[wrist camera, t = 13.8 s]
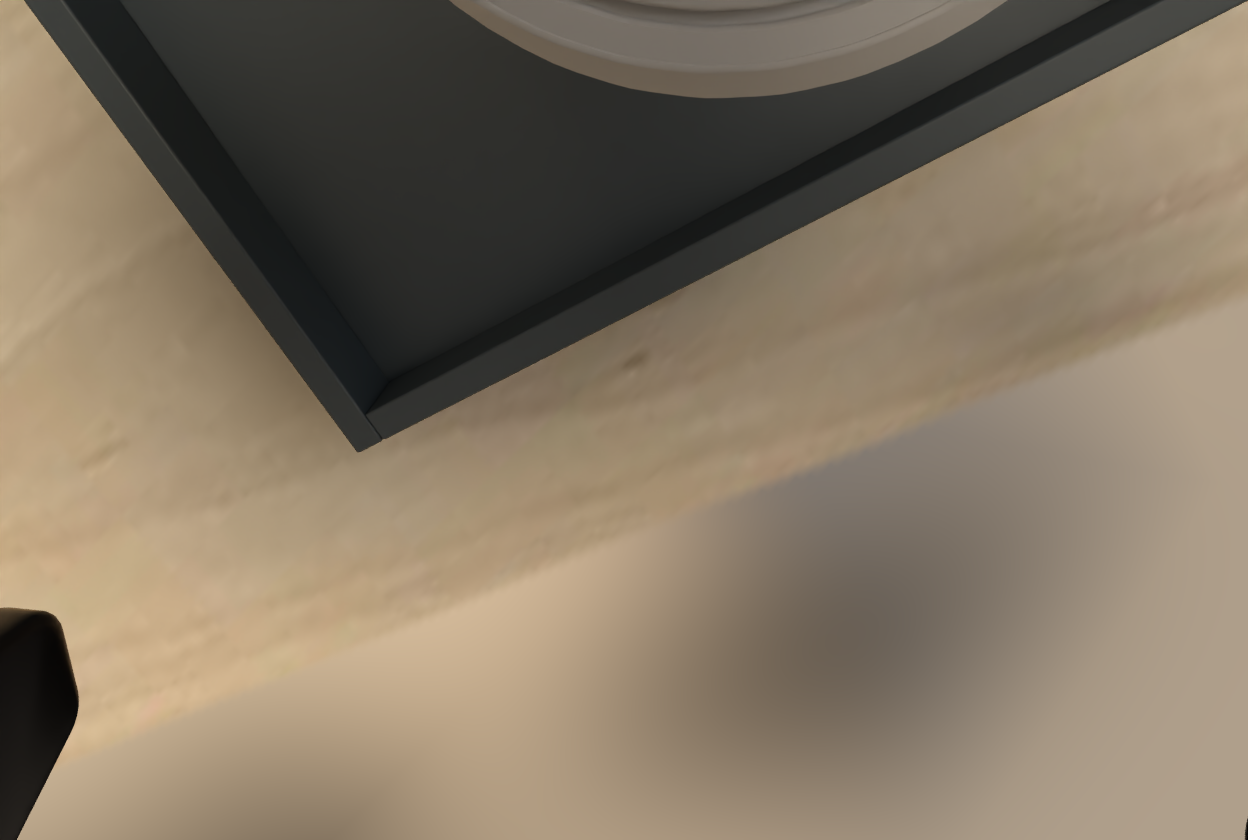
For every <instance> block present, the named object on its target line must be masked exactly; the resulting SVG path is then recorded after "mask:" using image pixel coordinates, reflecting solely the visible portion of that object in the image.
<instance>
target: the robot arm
mask: <svg viewBox="0 0 1248 840" xmlns="http://www.w3.org/2000/svg"><path fill="white" fill-rule="evenodd" d="M78 707H79V696H78V690H77V686H76V682H75V677H74V673H73V669H72V665H71V661H70V657H69V653H68V649H67V645H66V641H65V637H64V633H63V629H62V626H61V623H60V622H59V621H58V619H57V618H56V617H55V616H54V615H53V614H51V613H48V612H46V611H39V610H29V609H19V608H0V840H17V838H18V836H19V834H20V832H21V830H22V828H23V826H24V824H25V822H26V820H27V818H28V816H29V814H30V812H31V810H32V808H33V806H34V804H35V802H36V800H37V798H38V796H39V794H40V792H41V790H42V788H43V787H44V785H45V783H46V781H47V779H48V777H49V775H50V773H51V771H52V769H53V767H54V765H55V763H56V761H57V759H58V757H59V755H60V753H61V751H62V749H63V747H64V745H65V743H66V741H67V739H68V737H69V735H70V733H71V731H72V729H73V726H74V724H75V720H76V717H77V713H78ZM1245 840H1248V819H1247V823H1246V830H1245Z"/></svg>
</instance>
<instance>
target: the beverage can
mask: <svg viewBox="0 0 1248 840" xmlns="http://www.w3.org/2000/svg"><path fill="white" fill-rule="evenodd" d="M449 1H451V2H452V3H453V4H454V5H455V6H457V7H458V8H460V9H461V10H463V11H464V12H465V13H467V14H468V15H470V16H471V17H473V18H474V19H475V20H477V21H478V22H480V23H481V24H483V25H484V26H485V27H487V28H488V29H490V30H492V31H494V32H495V33H497V34H499V35H500V36H502V37H504V38H506V39H507V40H509V41H511V42H513V43H514V44H516V45H518V46H519V47H521V48H523V49H525V50H527V51H529V52H531V53H533V54H535V55H537V56H539V57H541V58H543V59H545V60H547V61H549V62H551V63H554V64H556V65H559V66H561V67H564V68H566V69H569V70H571V71H574V72H577V73H580V74H583V75H586V76H589V77H593V78H596V79H599V80H602V81H605V82H608V83H612V84H615V85H619V86H623V87H627V88H630V89H636V90H642V91H648V92H655V93H663V94H670V95H678V96H686V97H697V98H736V97H756V96H769V95H779V94H787V93H792V92H797V91H803V90H807V89H812V88H816V87H820V86H825V85H829V84H834V83H838V82H842V81H846V80H849V79H852V78H856V77H859V76H862V75H865V74H868V73H871V72H873V71H876V70H878V69H881V68H883V67H886V66H888V65H891V64H894V63H896V62H899V61H901V60H903V59H905V58H907V57H910V56H912V55H914V54H916V53H918V52H920V51H922V50H925V49H927V48H929V47H931V46H933V45H935V44H937V43H939V42H941V41H943V40H945V39H946V38H948V37H950V36H952V35H953V34H955V33H957V32H959V31H960V30H962V29H964V28H966V27H967V26H969V25H971V24H973V23H974V22H976V21H978V20H979V19H981V18H982V17H984V16H985V15H986V14H988V13H989V12H991V11H992V10H994V9H995V8H997V7H998V6H1000V5H1001V4H1003V3H1004V2H1006V1H1007V0H449Z"/></svg>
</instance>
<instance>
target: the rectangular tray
mask: <svg viewBox="0 0 1248 840" xmlns="http://www.w3.org/2000/svg"><path fill="white" fill-rule="evenodd" d="M24 1H25V2H26V4H27V5H28V6H29V8H30V9H31V10H32V12H33V13H34V14H35V16H36V17H37V19H38V20H39V21H40V23H41V24H42V25H43V27H44V28H45V29H46V31H47V32H48V33H49V35H50V36H51V38H52V39H53V40H54V42H55V43H56V44H57V46H58V47H59V48H60V50H61V51H62V52H63V54H64V55H65V57H66V58H67V59H68V61H69V62H70V63H71V65H72V66H73V67H74V69H75V70H76V71H77V73H78V74H79V75H80V77H81V78H82V80H83V81H84V82H85V84H86V85H87V86H88V88H89V89H90V90H91V92H92V93H93V94H94V96H95V97H96V99H97V100H98V101H99V103H100V104H101V105H102V107H103V108H104V109H105V111H106V112H107V113H108V115H109V116H110V118H111V119H112V120H113V122H114V123H115V124H116V126H117V127H118V128H119V130H120V131H121V132H122V134H123V135H124V137H125V138H126V139H127V141H128V142H129V143H130V145H131V146H132V147H133V149H134V150H135V151H136V153H137V154H138V156H139V157H140V158H141V160H142V161H143V162H144V164H145V165H146V166H147V168H148V169H149V170H150V172H151V173H152V175H153V176H154V177H155V179H156V180H157V181H158V183H159V184H160V185H161V187H162V188H163V189H164V191H165V192H166V193H167V195H168V196H169V198H170V199H171V200H172V202H173V203H174V204H175V206H176V207H177V208H178V210H179V211H180V212H181V214H182V215H183V217H184V218H185V219H186V221H187V222H188V223H189V225H190V226H191V227H192V229H193V230H194V231H195V233H196V234H197V236H198V237H199V238H200V240H201V241H202V242H203V244H204V245H205V246H206V248H207V249H208V250H209V252H210V253H211V255H212V256H213V257H214V259H215V260H216V261H217V263H218V264H219V265H220V267H221V268H222V269H223V271H224V272H225V274H226V275H227V276H228V278H229V279H230V280H231V282H232V283H233V284H234V286H235V287H236V288H237V290H238V291H239V293H240V294H241V295H242V297H243V298H244V299H245V301H246V302H247V303H248V305H249V306H250V307H251V309H252V310H253V311H254V313H255V314H256V316H257V317H258V318H259V320H260V321H261V322H262V324H263V325H264V326H265V328H266V329H267V330H268V332H269V333H270V335H271V336H272V337H273V339H274V340H275V341H276V343H277V344H278V345H279V347H280V348H281V349H282V351H283V352H284V354H285V355H286V356H287V358H288V359H289V360H290V362H291V363H292V364H293V366H294V367H295V368H296V370H297V371H298V373H299V374H300V375H301V377H302V378H303V379H304V381H305V382H306V383H307V385H308V386H309V387H310V389H311V390H312V392H313V393H314V394H315V396H316V397H317V398H318V400H319V401H320V402H321V404H322V405H323V406H324V408H325V409H326V411H327V412H328V413H329V415H330V416H331V417H332V419H333V420H334V421H335V423H336V424H337V425H338V427H339V428H340V429H341V431H342V432H343V434H344V435H345V436H346V438H347V439H348V440H349V442H350V443H351V444H352V446H353V447H354V448H355V450H356V451H357V452H361V451H363V450H365V449H367V448H369V447H371V446H373V445H375V444H377V443H379V442H381V441H382V440H383V439H387V438H389V437H391V436H392V435H394V434H396V433H398V432H400V431H402V430H404V429H406V428H408V427H410V426H412V425H414V424H416V423H418V422H420V421H422V420H424V419H426V418H428V417H430V416H432V415H434V414H436V413H438V412H440V411H442V410H444V409H446V408H448V407H450V406H451V405H453V404H455V403H457V402H459V401H461V400H463V399H465V398H467V397H469V396H471V395H473V394H475V393H477V392H479V391H481V390H483V389H485V388H487V387H489V386H491V385H493V384H495V383H497V382H499V381H501V380H503V379H505V378H507V377H509V376H510V375H512V374H514V373H516V372H518V371H520V370H522V369H524V368H526V367H528V366H530V365H532V364H534V363H536V362H538V361H540V360H542V359H544V358H546V357H548V356H550V355H552V354H554V353H556V352H558V351H560V350H562V349H564V348H566V347H568V346H569V345H571V344H573V343H575V342H577V341H579V340H581V339H583V338H585V337H587V336H589V335H591V334H593V333H595V332H597V331H599V330H601V329H603V328H605V327H607V326H609V325H611V324H613V323H615V322H617V321H619V320H621V319H623V318H625V317H627V316H628V315H630V314H632V313H634V312H636V311H638V310H640V309H642V308H644V307H646V306H648V305H650V304H652V303H654V302H656V301H658V300H660V299H662V298H664V297H666V296H668V295H670V294H672V293H674V292H676V291H678V290H680V289H682V288H684V287H686V286H687V285H689V284H691V283H693V282H695V281H697V280H699V279H701V278H703V277H705V276H707V275H709V274H711V273H713V272H715V271H717V270H719V269H721V268H723V267H725V266H727V265H729V264H731V263H733V262H735V261H737V260H739V259H741V258H743V257H745V256H746V255H748V254H750V253H752V252H754V251H756V250H758V249H760V248H762V247H764V246H766V245H768V244H770V243H772V242H774V241H776V240H778V239H780V238H782V237H784V236H786V235H788V234H790V233H792V232H794V231H796V230H798V229H800V228H802V227H804V226H805V225H807V224H809V223H811V222H813V221H815V220H817V219H819V218H821V217H823V216H825V215H827V214H829V213H831V212H833V211H835V210H837V209H839V208H841V207H843V206H845V205H847V204H849V203H851V202H853V201H855V200H857V199H859V198H861V197H863V196H864V195H866V194H868V193H870V192H872V191H874V190H876V189H878V188H880V187H882V186H884V185H886V184H888V183H890V182H892V181H894V180H896V179H898V178H900V177H902V176H904V175H906V174H908V173H910V172H912V171H914V170H916V169H918V168H920V167H921V166H923V165H925V164H927V163H929V162H931V161H933V160H935V159H937V158H939V157H941V156H943V155H945V154H947V153H949V152H951V151H953V150H955V149H957V148H959V147H961V146H963V145H965V144H967V143H969V142H971V141H973V140H975V139H977V138H979V137H980V136H982V135H984V134H986V133H988V132H990V131H992V130H994V129H996V128H998V127H1000V126H1002V125H1004V124H1006V123H1008V122H1010V121H1012V120H1014V119H1016V118H1018V117H1020V116H1022V115H1024V114H1026V113H1028V112H1030V111H1032V110H1034V109H1036V108H1038V107H1039V106H1041V105H1043V104H1045V103H1047V102H1049V101H1051V100H1053V99H1055V98H1057V97H1059V96H1061V95H1063V94H1065V93H1067V92H1069V91H1071V90H1073V89H1075V88H1077V87H1079V86H1081V85H1083V84H1085V83H1087V82H1089V81H1091V80H1093V79H1095V78H1097V77H1098V76H1100V75H1102V74H1104V73H1106V72H1108V71H1110V70H1112V69H1114V68H1116V67H1118V66H1120V65H1122V64H1124V63H1126V62H1128V61H1130V60H1132V59H1134V58H1136V57H1138V56H1140V55H1142V54H1144V53H1146V52H1148V51H1150V50H1152V49H1154V48H1156V47H1157V46H1159V45H1161V44H1163V43H1165V42H1167V41H1169V40H1171V39H1173V38H1175V37H1177V36H1179V35H1181V34H1183V33H1185V32H1187V31H1189V30H1191V29H1193V28H1195V27H1197V26H1199V25H1201V24H1203V23H1205V22H1207V21H1209V20H1211V19H1213V18H1215V17H1216V16H1218V15H1220V14H1222V13H1224V12H1226V11H1228V10H1230V9H1232V8H1234V7H1236V6H1238V5H1240V4H1242V3H1244V2H1246V1H1248V0H1007V1H1006V2H1004V3H1003V4H1001V5H1000V6H998V7H997V8H995V9H994V10H992V11H991V12H989V13H988V14H986V15H985V16H984V17H982V18H981V19H979V20H978V21H976V22H974V23H973V24H971V25H969V26H967V27H966V28H964V29H962V30H960V31H959V32H957V33H955V34H953V35H952V36H950V37H948V38H946V39H945V40H943V41H941V42H939V43H937V44H935V45H933V46H931V47H929V48H927V49H925V50H922V51H920V52H918V53H916V54H914V55H912V56H910V57H907V58H905V59H903V60H901V61H899V62H896V63H894V64H891V65H888V66H886V67H883V68H881V69H878V70H876V71H873V72H871V73H868V74H865V75H862V76H859V77H856V78H852V79H849V80H846V81H842V82H838V83H834V84H829V85H825V86H820V87H816V88H812V89H807V90H803V91H797V92H792V93H787V94H779V95H769V96H756V97H736V98H697V97H686V96H678V95H670V94H663V93H655V92H648V91H642V90H636V89H630V88H627V87H623V86H619V85H615V84H612V83H608V82H605V81H602V80H599V79H596V78H593V77H589V76H586V75H583V74H580V73H577V72H574V71H571V70H569V69H566V68H564V67H561V66H559V65H556V64H554V63H551V62H549V61H547V60H545V59H543V58H541V57H539V56H537V55H535V54H533V53H531V52H529V51H527V50H525V49H523V48H521V47H519V46H518V45H516V44H514V43H513V42H511V41H509V40H507V39H506V38H504V37H502V36H500V35H499V34H497V33H495V32H494V31H492V30H490V29H488V28H487V27H485V26H484V25H483V24H481V23H480V22H478V21H477V20H475V19H474V18H473V17H471V16H470V15H468V14H467V13H465V12H464V11H463V10H461V9H460V8H458V7H457V6H455V5H454V4H453V3H452V2H451V1H449V0H24Z"/></svg>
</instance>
